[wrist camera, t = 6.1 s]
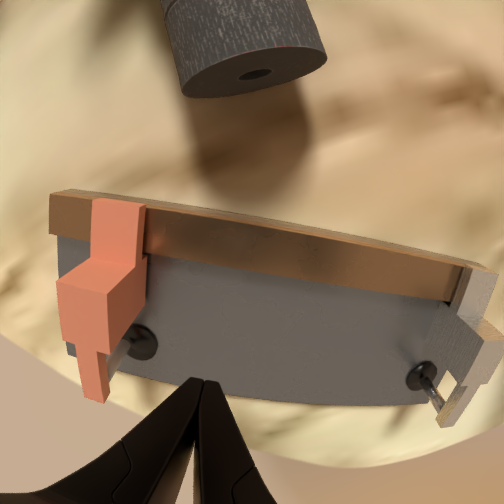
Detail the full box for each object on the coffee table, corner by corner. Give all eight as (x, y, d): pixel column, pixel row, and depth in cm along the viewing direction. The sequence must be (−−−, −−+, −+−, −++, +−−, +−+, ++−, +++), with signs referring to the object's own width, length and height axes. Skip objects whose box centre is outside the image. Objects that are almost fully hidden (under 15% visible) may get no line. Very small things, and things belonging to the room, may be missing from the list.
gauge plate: (479, 260, 15) (538, 295, 10) (421, 392, 18) (452, 446, 13) (70, 185, 14) (1, 202, 9) (76, 344, 17) (33, 396, 12)
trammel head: (152, 201, 13) (108, 221, 9) (144, 353, 15) (116, 407, 11) (109, 195, 13) (54, 212, 9) (108, 343, 15) (73, 393, 11)
